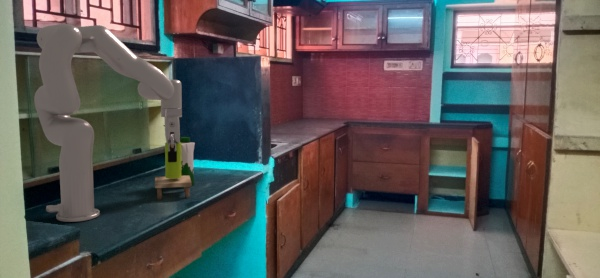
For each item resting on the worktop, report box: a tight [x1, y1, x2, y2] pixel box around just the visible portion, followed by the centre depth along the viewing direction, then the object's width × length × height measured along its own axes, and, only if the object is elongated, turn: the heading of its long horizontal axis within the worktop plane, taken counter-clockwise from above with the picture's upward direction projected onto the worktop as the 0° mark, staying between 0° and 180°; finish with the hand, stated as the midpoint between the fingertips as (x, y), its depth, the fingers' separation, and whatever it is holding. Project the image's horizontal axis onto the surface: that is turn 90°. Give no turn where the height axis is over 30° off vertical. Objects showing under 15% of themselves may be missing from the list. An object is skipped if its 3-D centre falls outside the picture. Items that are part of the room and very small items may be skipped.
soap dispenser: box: [163, 124, 181, 178], centre depth 180 cm, size 6×7×20 cm
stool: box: [154, 175, 192, 201], centre depth 181 cm, size 13×13×6 cm
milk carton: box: [177, 136, 196, 189], centre depth 196 cm, size 9×9×20 cm
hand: (172, 160), depth 180 cm, fingers closed on soap dispenser, 6 cm apart
